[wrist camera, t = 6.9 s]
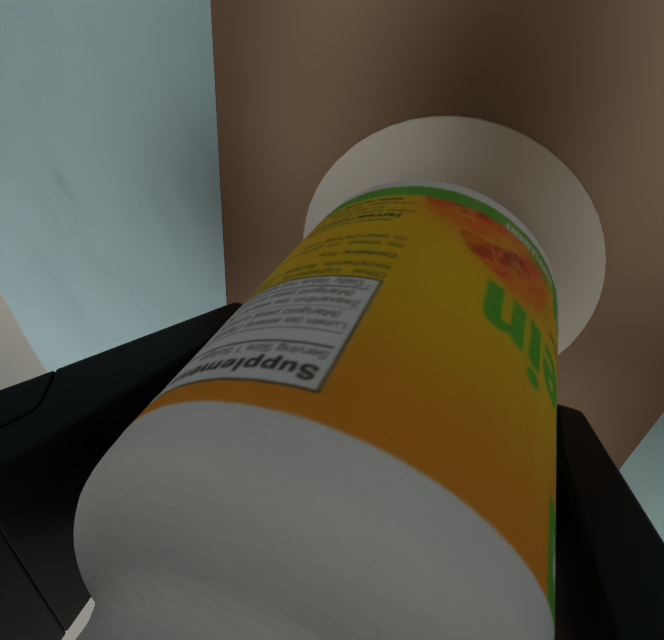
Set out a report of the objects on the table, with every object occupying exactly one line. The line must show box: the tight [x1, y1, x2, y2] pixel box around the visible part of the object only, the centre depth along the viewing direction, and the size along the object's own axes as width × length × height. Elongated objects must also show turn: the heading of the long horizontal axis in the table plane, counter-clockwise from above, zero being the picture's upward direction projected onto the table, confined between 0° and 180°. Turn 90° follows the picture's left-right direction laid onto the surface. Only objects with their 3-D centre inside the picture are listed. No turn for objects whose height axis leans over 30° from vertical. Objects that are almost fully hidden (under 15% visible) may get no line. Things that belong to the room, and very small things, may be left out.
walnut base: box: [211, 0, 664, 470], centre depth 13 cm, size 12×12×3 cm
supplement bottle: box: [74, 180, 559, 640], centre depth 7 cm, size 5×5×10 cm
